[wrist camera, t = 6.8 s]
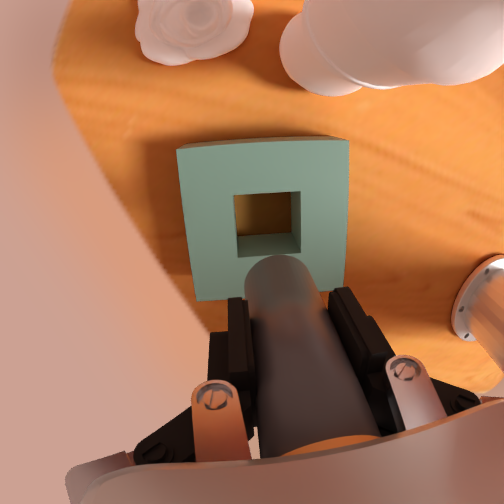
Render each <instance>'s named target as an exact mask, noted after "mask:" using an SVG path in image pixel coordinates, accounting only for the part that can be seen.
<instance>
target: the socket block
mask: <svg viewBox="0 0 504 504" xmlns="http://www.w3.org/2000/svg"><path fill="white" fill-rule="evenodd" d="M176 154H177V163H178V172H179V181H180V190H181V198H182V206H183V214H184V222H185V229H186V236H187V243H188V250H189V257H190V264H191V270H192V276H193V283H194V289H195V295H196V301H212V300H228V298H233V297H242V298H245V291H244V283H245V278H246V276H247V274H248V272H249V270H250V269H251V268H252V267H253V266H254V265H255V264H256V263H257V262H259V261H260V260H262V259H264V258H266V257H269V256H273V255H288V256H292V257H295V258H297V259H299V260H300V261H301V262H303V263H304V264H305V265H306V267H307V268H308V270H309V272H310V274H311V276H312V278H313V280H314V283H315V285H316V287H317V289H318V291H319V292H323V291H333V290H334V288H339V287H343V282H344V270H345V256H346V240H347V221H348V193H349V140H345V139H341V138H337V137H333V136H291V137H265V138H247V139H233V140H220V141H209V142H199V143H189V144H185V145H183V146H181V147H179V148H178V149H176ZM275 192H291V232H288V233H274V234H259V235H246V236H237V229H236V217H235V204H234V195H244V194H259V193H275Z"/></svg>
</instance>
